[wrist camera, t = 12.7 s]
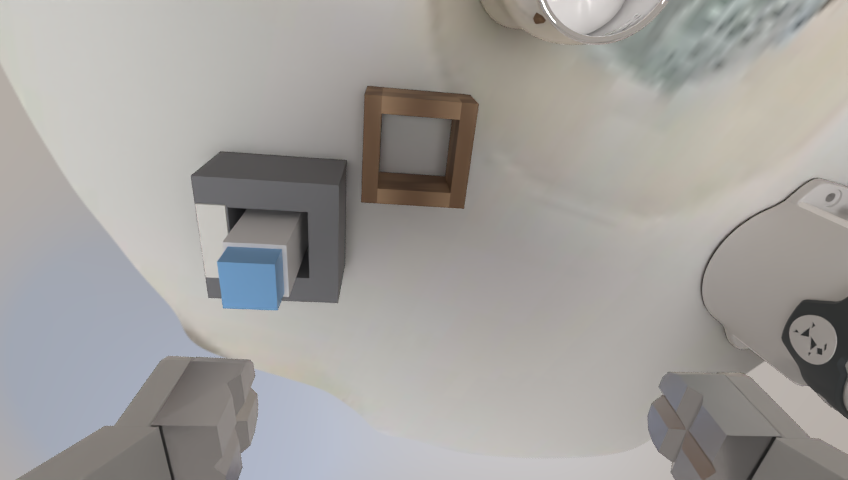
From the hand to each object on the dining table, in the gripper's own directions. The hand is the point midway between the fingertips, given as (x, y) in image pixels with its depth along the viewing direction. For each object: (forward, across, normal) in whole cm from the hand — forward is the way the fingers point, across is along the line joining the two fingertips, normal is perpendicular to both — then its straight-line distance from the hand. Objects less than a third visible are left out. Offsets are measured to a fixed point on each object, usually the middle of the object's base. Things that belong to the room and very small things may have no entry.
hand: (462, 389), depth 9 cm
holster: (+30, 0, -2) cm, 30 cm away
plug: (+30, -10, -9) cm, 33 cm away
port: (+30, -10, -9) cm, 33 cm away
